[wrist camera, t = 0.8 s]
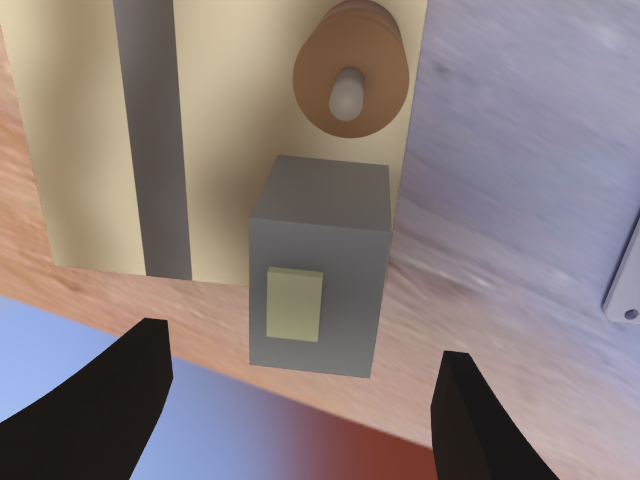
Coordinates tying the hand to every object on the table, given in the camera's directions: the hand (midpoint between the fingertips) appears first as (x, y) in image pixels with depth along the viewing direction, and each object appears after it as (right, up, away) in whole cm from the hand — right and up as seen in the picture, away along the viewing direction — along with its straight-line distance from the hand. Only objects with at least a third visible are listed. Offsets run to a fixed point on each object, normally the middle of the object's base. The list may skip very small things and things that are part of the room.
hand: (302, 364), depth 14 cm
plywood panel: (-3, +7, +6) cm, 10 cm away
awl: (+2, +10, +3) cm, 10 cm away
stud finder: (+1, +4, +7) cm, 8 cm away
